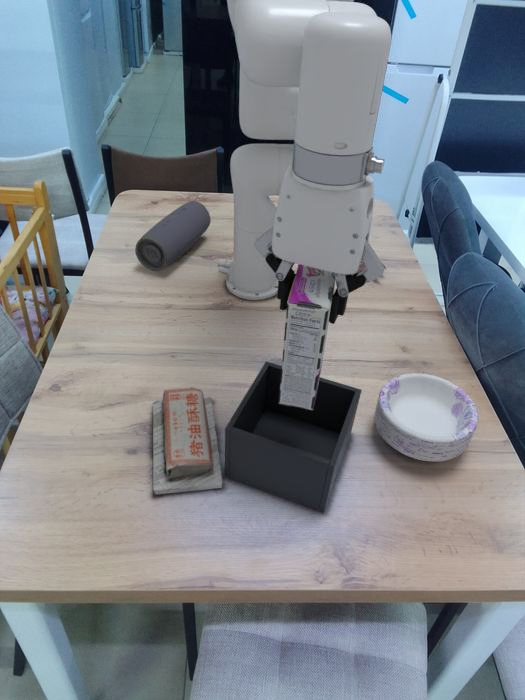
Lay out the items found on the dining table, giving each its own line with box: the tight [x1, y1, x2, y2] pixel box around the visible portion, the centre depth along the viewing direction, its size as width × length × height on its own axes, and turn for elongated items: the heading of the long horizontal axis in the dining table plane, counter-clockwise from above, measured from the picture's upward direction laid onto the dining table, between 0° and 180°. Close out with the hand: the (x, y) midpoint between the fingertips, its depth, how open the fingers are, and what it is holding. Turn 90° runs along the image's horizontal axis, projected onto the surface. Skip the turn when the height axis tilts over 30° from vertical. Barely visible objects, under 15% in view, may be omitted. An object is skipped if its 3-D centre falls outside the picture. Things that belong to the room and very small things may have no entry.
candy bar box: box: [278, 264, 336, 410], centre depth 64 cm, size 11×5×16 cm, turn 168°
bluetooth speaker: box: [134, 200, 212, 272], centre depth 123 cm, size 23×9×10 cm, turn 159°
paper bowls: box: [374, 372, 479, 462], centre depth 81 cm, size 15×15×8 cm
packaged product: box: [152, 387, 223, 496], centre depth 78 cm, size 18×5×10 cm
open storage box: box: [224, 360, 362, 513], centre depth 76 cm, size 16×16×11 cm
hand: (310, 309), depth 62 cm, fingers closed on candy bar box, 5 cm apart
